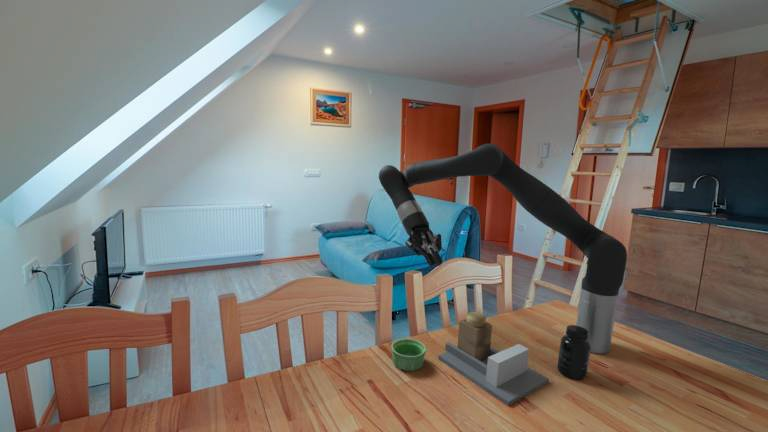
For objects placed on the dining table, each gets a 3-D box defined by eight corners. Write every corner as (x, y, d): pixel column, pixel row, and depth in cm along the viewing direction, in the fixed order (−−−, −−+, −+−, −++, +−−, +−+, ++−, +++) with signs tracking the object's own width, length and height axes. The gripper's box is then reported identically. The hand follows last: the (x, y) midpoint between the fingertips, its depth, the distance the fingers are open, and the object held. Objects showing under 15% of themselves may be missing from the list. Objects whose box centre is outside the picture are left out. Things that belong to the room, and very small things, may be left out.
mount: (475, 341, 107) (477, 319, 106) (548, 382, 88) (551, 355, 87) (435, 356, 98) (437, 332, 97) (507, 405, 79) (510, 376, 78)
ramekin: (385, 367, 92) (386, 351, 92) (397, 350, 101) (398, 335, 100) (419, 376, 89) (420, 359, 88) (429, 358, 97) (429, 343, 97)
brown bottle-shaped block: (472, 346, 101) (475, 309, 100) (489, 356, 97) (492, 317, 95) (457, 352, 98) (459, 314, 96) (474, 363, 93) (477, 323, 91)
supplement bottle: (590, 382, 89) (597, 337, 87) (561, 378, 90) (566, 333, 88) (581, 367, 95) (587, 324, 94) (554, 363, 97) (559, 321, 95)
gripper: (400, 212, 108) (425, 262, 100) (434, 209, 116) (460, 255, 108) (389, 226, 113) (412, 275, 105) (422, 223, 121) (446, 268, 113)
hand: (436, 265), depth 107 cm, fingers closed
